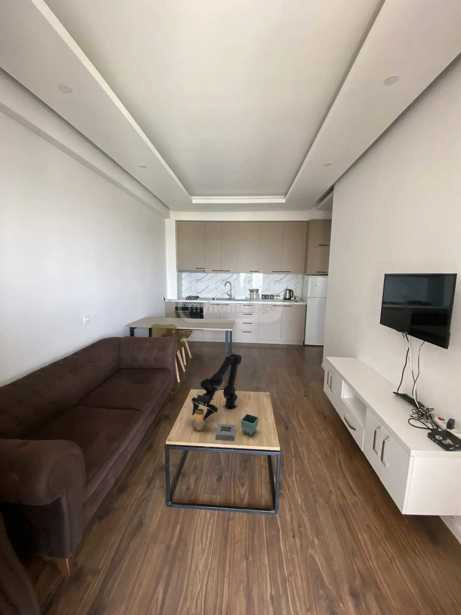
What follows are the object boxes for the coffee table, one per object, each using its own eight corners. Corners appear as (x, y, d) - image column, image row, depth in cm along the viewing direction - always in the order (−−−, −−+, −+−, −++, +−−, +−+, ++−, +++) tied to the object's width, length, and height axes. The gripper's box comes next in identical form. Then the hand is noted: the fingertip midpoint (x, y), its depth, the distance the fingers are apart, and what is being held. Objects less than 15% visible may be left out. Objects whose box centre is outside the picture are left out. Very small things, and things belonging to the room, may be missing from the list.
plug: (204, 424, 165) (204, 407, 163) (205, 431, 158) (205, 413, 156) (193, 425, 164) (193, 408, 162) (193, 432, 156) (193, 414, 155)
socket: (218, 428, 161) (218, 423, 161) (235, 429, 160) (235, 424, 160) (215, 439, 150) (215, 434, 150) (234, 440, 150) (234, 435, 149)
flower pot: (258, 430, 160) (259, 417, 159) (253, 438, 152) (253, 424, 151) (246, 426, 164) (246, 413, 163) (240, 433, 156) (240, 420, 155)
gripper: (193, 385, 166) (180, 408, 158) (215, 393, 155) (203, 418, 148) (201, 392, 173) (189, 414, 166) (222, 400, 162) (211, 424, 155)
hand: (198, 417), depth 158 cm, fingers open, 9 cm apart
